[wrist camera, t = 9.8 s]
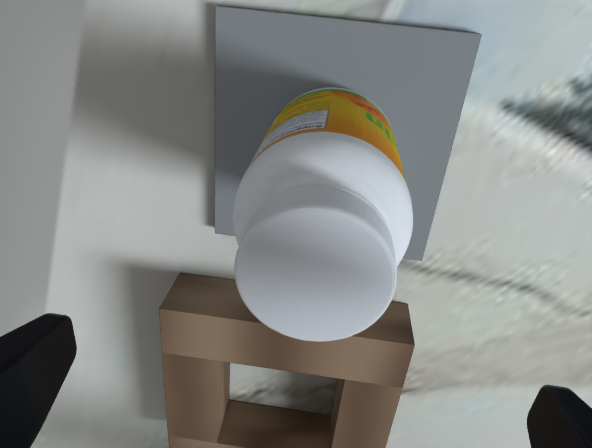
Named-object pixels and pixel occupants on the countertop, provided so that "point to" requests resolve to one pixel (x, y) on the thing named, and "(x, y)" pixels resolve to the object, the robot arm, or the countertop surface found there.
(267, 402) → the countertop surface
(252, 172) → the supplement bottle
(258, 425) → the walnut open tray
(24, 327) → the robot arm
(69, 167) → the countertop surface
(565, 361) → the countertop surface
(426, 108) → the grey rubber mat
